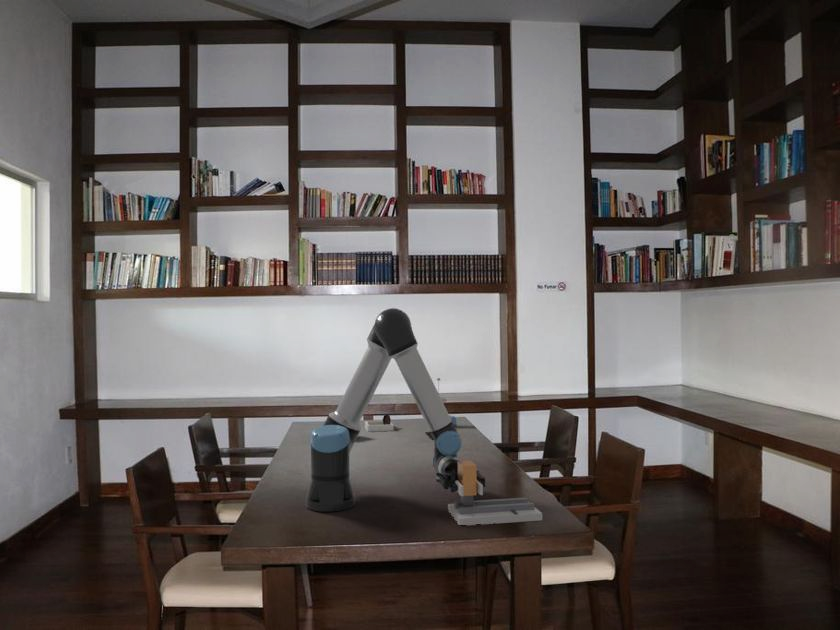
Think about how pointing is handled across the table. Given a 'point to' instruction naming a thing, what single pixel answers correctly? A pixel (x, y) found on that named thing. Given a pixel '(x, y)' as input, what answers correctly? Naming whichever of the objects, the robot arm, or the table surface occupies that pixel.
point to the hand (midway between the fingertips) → (471, 490)
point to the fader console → (495, 511)
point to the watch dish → (378, 426)
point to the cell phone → (429, 435)
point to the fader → (467, 482)
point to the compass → (386, 419)
